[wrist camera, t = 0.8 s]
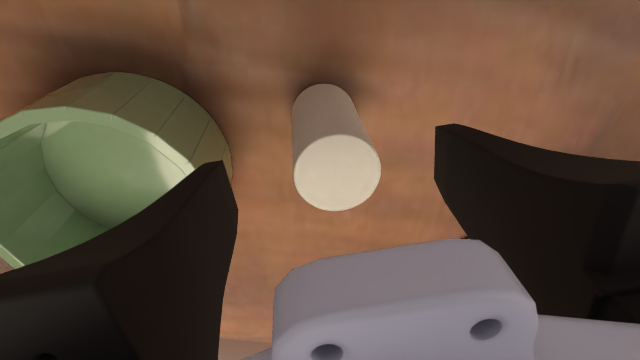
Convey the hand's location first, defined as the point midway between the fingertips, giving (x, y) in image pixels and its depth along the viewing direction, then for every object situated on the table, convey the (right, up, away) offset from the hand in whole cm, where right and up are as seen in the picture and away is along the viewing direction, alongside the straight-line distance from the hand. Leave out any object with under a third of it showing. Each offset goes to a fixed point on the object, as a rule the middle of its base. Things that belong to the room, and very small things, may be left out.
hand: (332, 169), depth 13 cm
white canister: (0, +3, +8) cm, 9 cm away
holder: (-11, +1, +9) cm, 14 cm away
